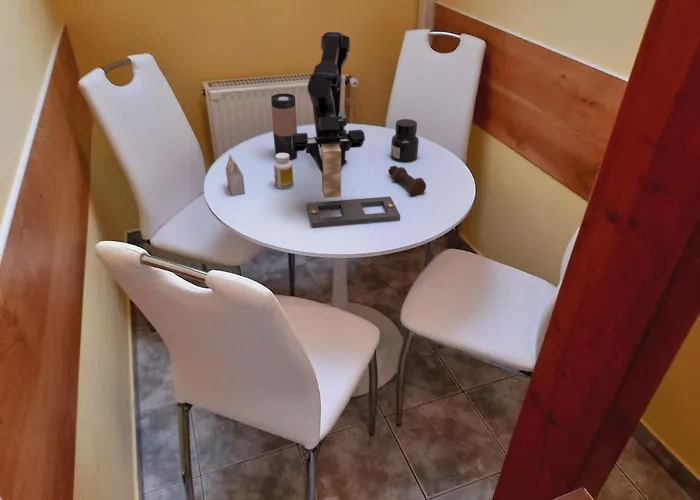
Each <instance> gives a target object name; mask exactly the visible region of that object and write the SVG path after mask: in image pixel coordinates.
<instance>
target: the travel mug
mask: <svg viewBox="0 0 700 500" xmlns="http://www.w3.org/2000/svg"><path fill="white" fill-rule="evenodd" d="M296 105H297V104H296V96H295V95H294V94H291V93H282V92H281V93H277V94H273V95H271V115H272V116H271V117H272V119H271V120H272V133H273V143H274V152H275V154H274V155H276V154H278V153H287V154H289V158H290V159H289V161H291V162H292V161H294V160H296V159H297V158H298V151H292V144H291V141H292V135H293V134H296V133H298V125H297V123H298V122H297V109H296V107H297V106H296Z"/></svg>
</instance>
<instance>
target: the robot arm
mask: <svg viewBox="0 0 700 500" xmlns="http://www.w3.org/2000/svg"><path fill="white" fill-rule="evenodd" d="M320 39H321V42H320V49H321V51H322V54H321V59H320V63H318V64H316V65H315V66H314V69H313V72H312V73H311V74H310V77H309V79H308V84H307V92H308V94H309V97H310V101H311V104H312V111H313V119H314V121H313V122H314V127H315V128H314V129H315V136H308V132H299V133H298V132H297V133H296V134H293V135H292V141H291V144H292V151H297V152H304V151H305V153H306V154H309V155H310V156H311V157H312V159H313V160H314V161H315V163H316V165H317V167H318V169H319V170H320V173H321V174H322V173H323V165H322V160H321V153H320V149H321V145H325V144H339V147H340V149H341V171H342V170H343V165H345V164H347V160H346V152H349V151H350V150H351V149H352V148H353V149H355V148H360V147H363V144H364V143H365V140H366V136H365V132H364V131H363V130H362V129H354V130H353V129H351V130H348V131H347V130H346V128H345V127H346V126H347V125H348V124H347V114H346V112H341V107H342V106H341V103H342V85H343V67H344V65H345V64H346V62H347V61H348V59H349V53H350V52H351V47H352V46H351V45H352V44H351V43H352V42H351V39H350V37H349V36H347V35H344V34H343V33H341V32H339V31H337V32H335V31H327V32H324V33H323V35H321V38H320Z"/></svg>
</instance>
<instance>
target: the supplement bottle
mask: <svg viewBox="0 0 700 500" xmlns="http://www.w3.org/2000/svg"><path fill="white" fill-rule="evenodd" d="M289 159H290V158H289V154H287V153H278V154H275V161H274V163H273V173H274V184H275V187H276V188H277V189H280V190H287V189H290V188H292V187H293V186H294V174H293V162H292V160H291V161H289Z"/></svg>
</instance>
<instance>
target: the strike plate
mask: <svg viewBox="0 0 700 500" xmlns="http://www.w3.org/2000/svg"><path fill="white" fill-rule="evenodd" d="M370 207H372V208H373V207H383V209H384V212H376V213H375V212H374V213H365V211H364V208H370ZM306 210H307V213H308V214H307V215H308V219H309V223H310V227H311V229H317V228H318V229H319V228H328V227H329V228H330V227H339V226H353V225H362V224H363V225H365V224H373V223H374V224H375V223H386V222H398V221H401V214H400V212H399V210H398V208H397V207H396V204H395V203H394V201H393V198H392V196H391V195H390V196H379V197H376V196H375V197H365V198H355V199H354V198H352V199H338V200H328V201H325V200H324V201H313V202H306ZM332 210H333V211H334V210H335V211H336V210H340V211H341V214H342V215H339V216H327V217H321V214H320V212H321V211H332Z"/></svg>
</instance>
